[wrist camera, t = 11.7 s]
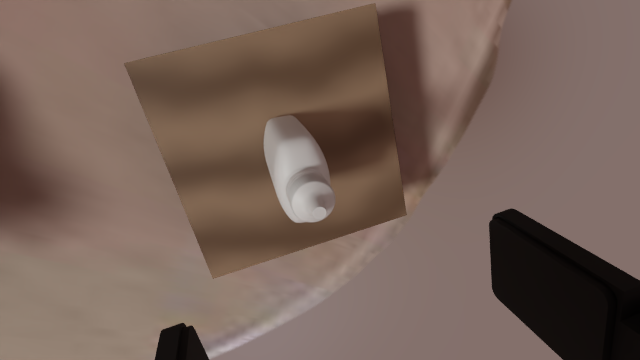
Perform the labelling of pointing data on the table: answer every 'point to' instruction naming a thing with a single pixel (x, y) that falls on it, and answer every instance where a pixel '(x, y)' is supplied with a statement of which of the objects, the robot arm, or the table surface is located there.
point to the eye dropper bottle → (298, 170)
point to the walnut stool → (249, 126)
